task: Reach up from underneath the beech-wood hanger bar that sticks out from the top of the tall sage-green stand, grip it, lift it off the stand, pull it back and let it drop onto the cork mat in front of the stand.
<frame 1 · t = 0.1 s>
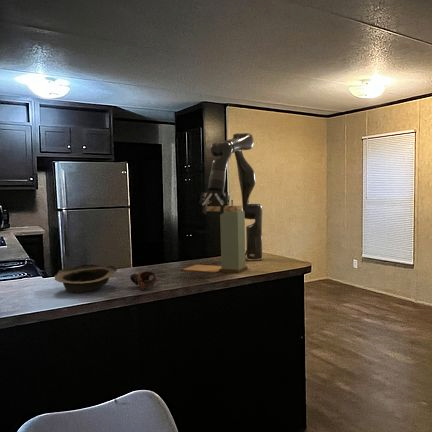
hand: (212, 214, 205), 31 cm above the countertop, tool tilted 20°, fingers open, 8 cm apart
mat: (205, 269, 236), on the countertop
stone bowl: (86, 289, 193), on the countertop
pottery mug: (143, 287, 196), on the countertop
stand: (233, 270, 231), on the countertop
hanger: (223, 211, 230), point 31 cm above the countertop, touching stand
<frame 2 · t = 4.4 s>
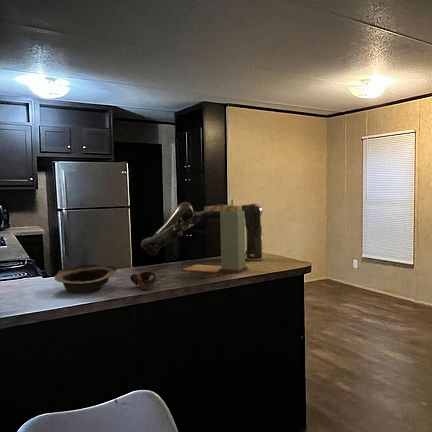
hand: (194, 219, 236), 26 cm above the countertop, tool pointing upward, fingers open, 8 cm apart
nothing on the countertop moved.
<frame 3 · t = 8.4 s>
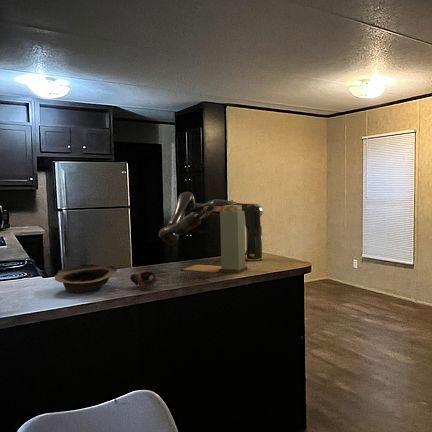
hand: (214, 206, 232), 34 cm above the countertop, tool pointing upward, fingers closed on hanger, 2 cm apart
hanger: (223, 211, 230), point 31 cm above the countertop, touching gripper, stand
everything else where it was.
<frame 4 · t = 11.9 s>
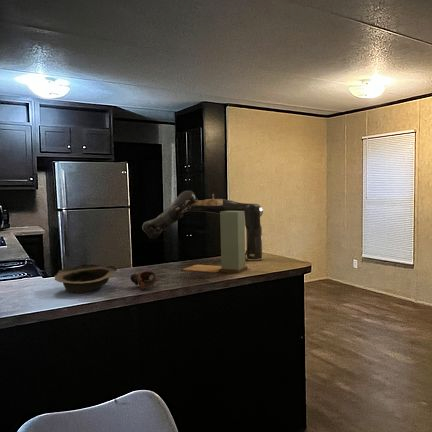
hand: (195, 200, 235), 37 cm above the countertop, tool pointing upward, fingers closed on hanger, 2 cm apart
hanger: (205, 205, 234), point 34 cm above the countertop, touching gripper
everything else where it was.
when the fingers open (23 cm above the countertop, at t = 15.5 s): hanger drops 19 cm, resting on mat.
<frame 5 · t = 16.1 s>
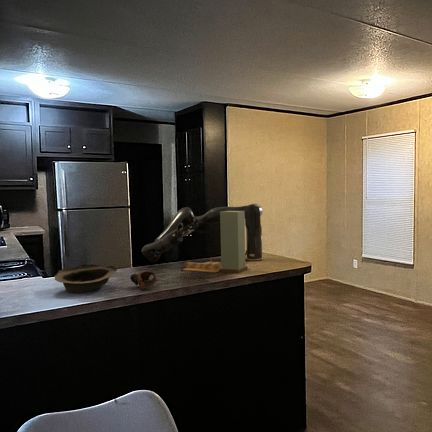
hand: (193, 225, 237), 23 cm above the countertop, tool pointing upward, fingers open, 8 cm apart
hanger: (203, 268, 235), point 1 cm above the countertop, touching mat
everything else where it was.
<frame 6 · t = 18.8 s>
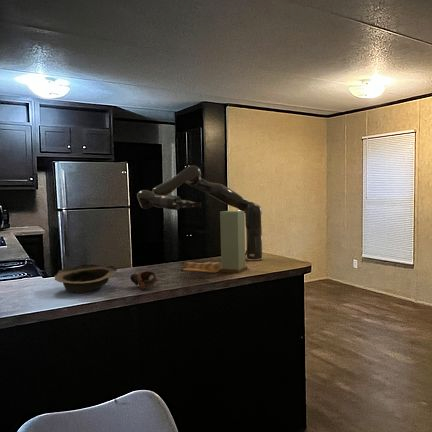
hand: (196, 205, 234), 34 cm above the countertop, tool horizontal, fingers open, 8 cm apart
nothing on the countertop moved.
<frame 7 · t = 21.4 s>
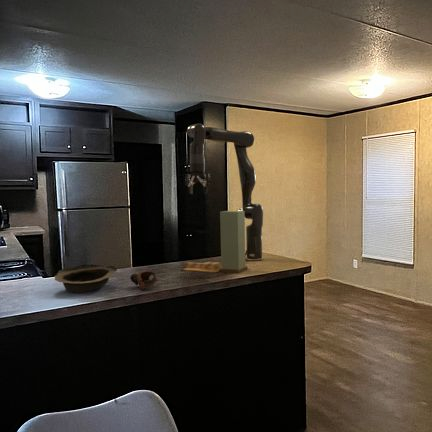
hand: (198, 194, 231), 40 cm above the countertop, tool pointing down, fingers open, 8 cm apart
nothing on the countertop moved.
at the end: hanger inside the target area (0.3 cm from its centre), point 0.6 cm above the countertop; hanger touching mat; hanger moved 32.8 cm from its start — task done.
